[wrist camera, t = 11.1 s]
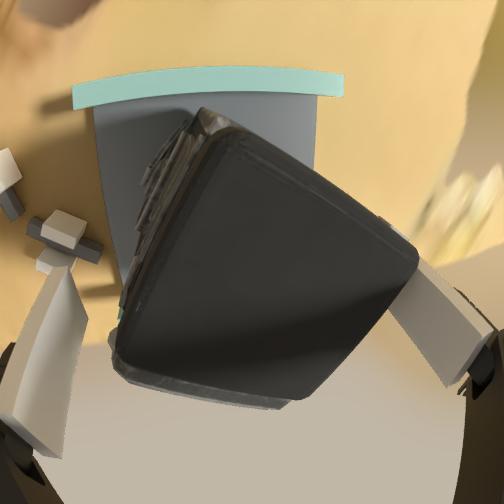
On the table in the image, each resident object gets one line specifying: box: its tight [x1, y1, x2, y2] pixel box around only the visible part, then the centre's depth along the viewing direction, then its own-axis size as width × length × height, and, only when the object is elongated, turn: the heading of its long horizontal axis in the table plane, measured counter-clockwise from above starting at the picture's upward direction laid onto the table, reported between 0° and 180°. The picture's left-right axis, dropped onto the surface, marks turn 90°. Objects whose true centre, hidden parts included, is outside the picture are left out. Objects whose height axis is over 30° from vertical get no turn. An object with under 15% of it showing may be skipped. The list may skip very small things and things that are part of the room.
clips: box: [0, 147, 87, 275], centre depth 18 cm, size 13×5×3 cm, turn 40°
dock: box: [72, 66, 344, 323], centre depth 20 cm, size 18×16×5 cm
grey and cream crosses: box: [0, 186, 104, 264], centre depth 19 cm, size 16×4×1 cm, turn 39°
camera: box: [108, 107, 420, 410], centre depth 15 cm, size 10×10×15 cm
